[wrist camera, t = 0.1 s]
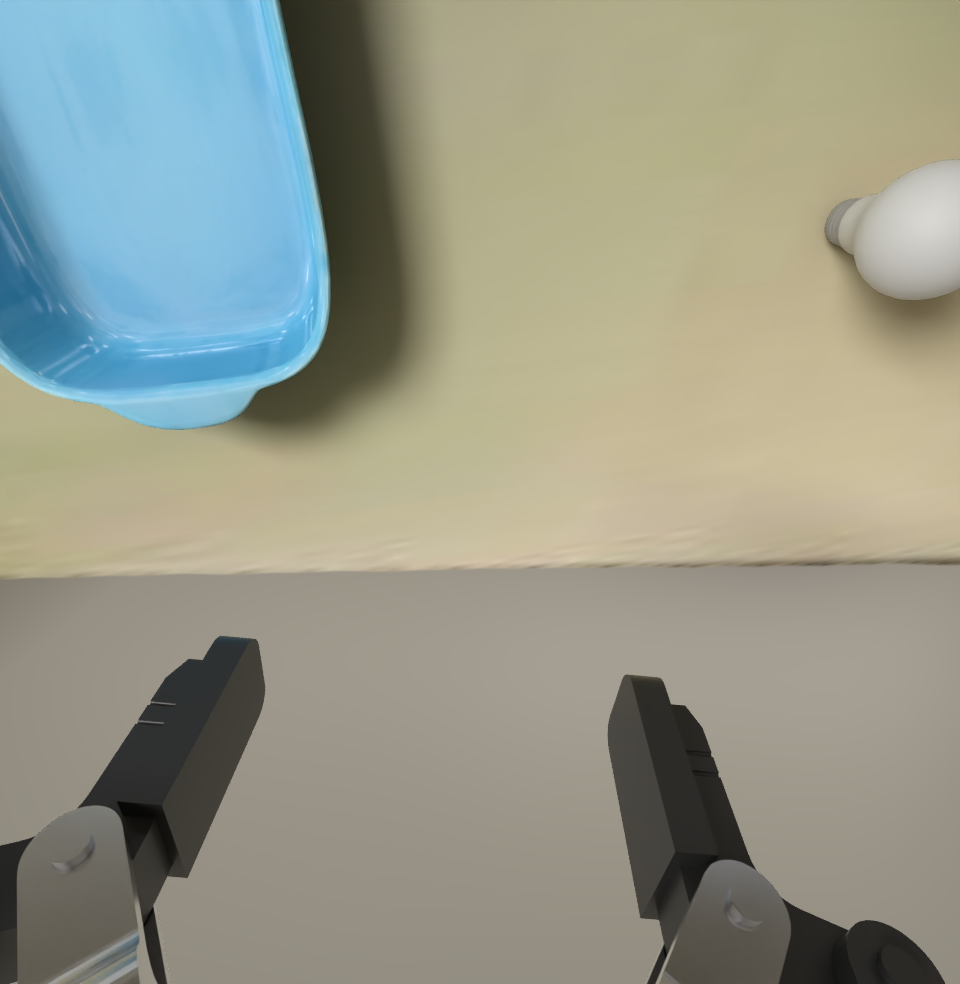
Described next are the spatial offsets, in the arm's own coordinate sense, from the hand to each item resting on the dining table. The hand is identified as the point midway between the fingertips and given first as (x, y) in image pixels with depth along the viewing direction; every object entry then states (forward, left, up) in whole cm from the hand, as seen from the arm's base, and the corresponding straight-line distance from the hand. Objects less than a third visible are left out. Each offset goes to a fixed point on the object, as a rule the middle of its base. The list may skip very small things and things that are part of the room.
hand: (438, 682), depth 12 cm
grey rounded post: (-9, +22, -29) cm, 38 cm away
